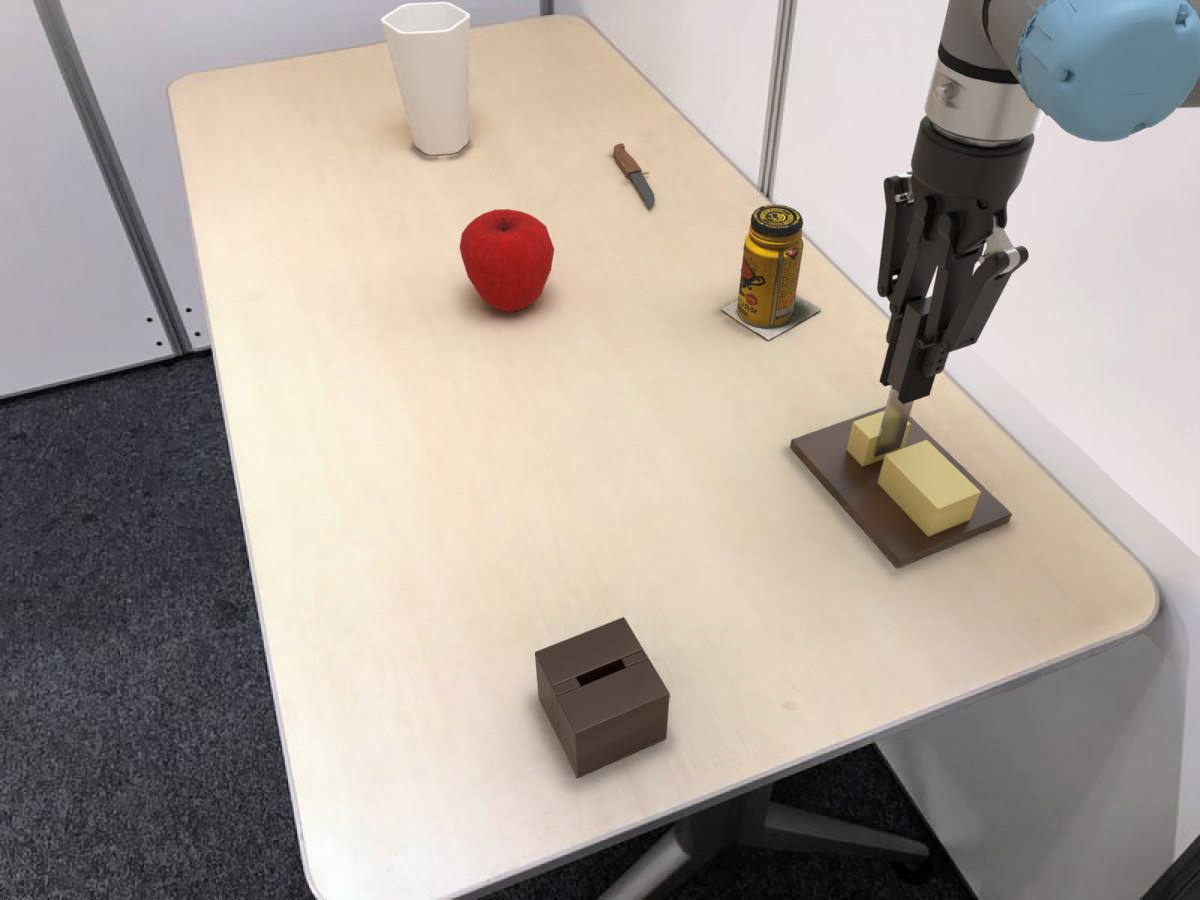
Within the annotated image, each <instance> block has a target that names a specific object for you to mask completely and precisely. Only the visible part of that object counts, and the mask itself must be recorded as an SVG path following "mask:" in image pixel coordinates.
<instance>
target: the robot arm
mask: <svg viewBox="0 0 1200 900" xmlns="http://www.w3.org/2000/svg"><path fill="white" fill-rule="evenodd" d="M936 52H937V53H936V57H935V61H934V64H933V69H932V74H931V78H930V82H929V85H928V90H927V95H926V99H925V103H924V113H925V115H924V116H923V118H921V120H920V122H919V126H918V132H917V135H916V138H915V143H914V148H913V152H912V155H911V159H910V167H911V171H907V172H903V173H899V174H896V175H891V176H888V177H886V178H884V180H883V193H884V201H885V214H884V224H883V231H882V242H881V250H880V257H879V258H880V259H879V267H878V277H877V286H876V290H877V291H876V292H877V294H878V296H879V297H880V298H886V299H887V300H888V302H889V304H888V305H889V306H888V307H889V308H888V309H889V312H890V313H891V314H890V320H889V323H888V327H887V331H886V333H885V334H886V335H885V340H886V343H887V344H888V346H887V350H886V353H885V358H884V362H883V366H882V370H881V373H880V377H879V383H880V384H881V385H882V386H883V387H889V386H891V385H890V384H889V383H888V382H887V379H888V375H889V371H890V367H891V363H892V359H893V355H894V352H895V348H896V344H897V340H898V336H899V332H900V329H901V325H902V321H903V317H904V313H905V309H906V305H907V304H908V303H911V302H914V301H917V300H921V299H924V298H927V295H928V292H929V289H930V287H931V284H932V282H933V279H934V276H935V279H934V282H933V283H934V284H933V288H932V294H931V296H932V298H931V303H930V308H929V313H928V318H927V323H926V328H925V333H924V334H923V335H920V336H917V337H915V339H914V342H913V346H912V349H911V353H910V357H909V360H908V364H907V368H906V371H905V375H904V378H903V382H902V386H901V389H900V393H899V396H898V400H899V401H900V402H901V403H902V404H906V403H909V402H912V401H914V402H915V401H917V400H920V399H923V398H926V397H928V396H930V395H931V392H932V389H933V385H934V383H935V378H936V375H938V374H941V373H942V372H943V371H944V370H945V367H946V364H947V360H948V357H949V354H950V353H952V352H955V351H957V350H961V349H964V348H967V347H970V346H973V345H975V344H976V343H977V342H978V340H979V338H980V336H981V334H982V333H983V330H984V329H985V327H986V325H987V323H988V321H989V319H990V317H991V315H992V313H993V311H994V309H995V307H996V305H997V303H998V302H999V300H1000V297H1001V296H1002V294H1003V292H1004V290H1005V288H1006V286H1007V285H1008V283H1009V280H1010V278H1011V276H1012V275H1013V274H1014V273H1015V272H1016V271H1017V270H1018V269H1019V268H1021V266H1023V265H1024V264H1026V263H1027V261H1028V260H1029V251H1028V249H1027V248H1026V247H1025V246H1024V245H1019V246H1018V245H1017V246H1014V245H1013V243H1012V241H1011V239H1010V238H1009V236H1008V234H1007V232H1006V230H1005V228H1006V227H1007V225H1008V204H1009V203H1008V202H1009V200H1010V198H1011V197H1012V195H1013V194H1014V193H1015V191H1016V190H1017V188H1019V186H1020V184H1021V182H1022V180H1023V177H1024V174H1025V171H1026V168H1027V165H1028V162H1029V160H1030V156H1031V153H1032V150H1033V147H1034V145H1035V140H1036V139H1035V138H1036V137H1035V134H1034V133H1035V132H1036V131H1038V129H1039V128H1040V127H1041V124H1042V122H1043V117H1044V115H1045V116H1048V117H1050V118H1051V119H1052V120H1053V121H1054V122H1055V123H1056V124H1057V126H1059V127H1060V128H1061V129H1062V130H1063V131H1064V132H1065V133H1067V134H1069V135H1071V136H1073V137H1075V138H1078V139H1081V140H1084V141H1090V142H1099V143H1109V142H1116V141H1122V140H1124V139H1127V138H1129V137H1130V136H1132V135H1134V134H1136V133H1138V132H1141V131H1143V130H1145V129H1149V128H1153V127H1154V126H1157V125H1158V124H1160V123H1161V122H1163V121H1164V120H1166V119H1167V118H1168V117H1170V116H1171V115H1173V113H1174V112H1175V111H1176V110H1177V109H1187V108H1188V109H1190V108H1192V109H1193V108H1200V0H948V5H947V8H946V14H945V18H944V21H943V26H942V30H941V35H940V39H939V44H938V48H937V51H936ZM985 244H986V247H985ZM984 249H985V250H984ZM977 263H979V264H980V265H979V266H978V267H976V269H975V266H976V264H977ZM935 273H936V274H935ZM895 276H896V277H895ZM894 277H895V278H894Z"/></svg>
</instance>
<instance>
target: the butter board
mask: <svg viewBox="0 0 1200 900" xmlns="http://www.w3.org/2000/svg"><path fill="white" fill-rule="evenodd" d="M885 408H886V406H883V407H880V408H877V409H874V410H872V411H869V412H866V413H863V414H860V415H857V416H854V417H852V418H849V419H846V420H843V421H840V422H838V423H835V424H832V425H829V426H827V427H826V426H825V427H823V428H821V429H818V430H815V431H812V432H809V433H805V434H804V435H801V436H799V437H798V436H797V437H795V438H793V439H792V438H791V440H790V446H789V447H790V449H791V450H792V451H793V452H794V453H795V454H796V456H797V457H798V458H799V459H800V460H801V461H802V462H803V463H804V465H805V466H806V467H807V468H808V469H809V470H810V471H811V473H813V475H814V476H815V477H816V478H817V479H818V481H820V483H821V484H822V485H823V486H824V487H825V489H826V490H828V492H829V493H830V494H831V495H832V496H833V497H834V499H835V500H836V501H837V502H838V503H839V504H840V505H841V506H842V508H843V509H844V511H846V512H847V513H848V514H849V516H850V517H851V518H852V519H853V520H854V521H855V523H856V524H858V526H859V527H860V528H861V529H862V530H863V531H864V532H865V534H866V535H867V536H868V537H869V538H870V539H871V540H872V541H873V543H874V544H875V545H876V546H877V548H879V549H880V550H881V552H882V553H883V554H884V555H885V556H886V557H887V558H888V560H889V561H890V562H891V563H892V564H893V565H894V567H895V568H900V567H902V566H905V565H907V564H910V563H913V562H915V561H917V560H919V559H922V558H924V557H927V556H929V555H931V554H933V553H936V552H938V551H941V550H943V549H945V548H948V547H951V546H952V545H955V544H957V543H960V542H963V541H965V540H967V539H970V538H973V537H975V536H977V535H979V534H981V533H985V532H987V531H989V530H991V529H994V528H996V527H998V526H1001V525H1004V524H1006V523H1008V522H1010V520H1011V517H1012V516H1013V513H1012V511H1010V510H1009V509H1008V508H1007V507H1006V506H1005V505H1004V504H1003V503H1002V502H1001V501H999V500H998V498H997V497H995V496H994V495H993V494H992V493H991V492H990V491H989V490H988V489H987V488H986V487H985V486H984V485H983V484H982V483H981V482H980V481H978V479H976V478H975V477H974V476H973V475H972V474H971V472H969V471H968V470H967V469H966V468H965V467H964V466H963V465H962V464H961V463H960V462H959V461H958V460H956V459H955V457H953V456H952V455H951V453H949V452H948V450H946V449H945V448H944V447H943V446H942V445H941V444H940V443H938V441H936V440H935V439H934V437H932V436H931V435H930V433H928V432H927V430H925V429H924V427H922V426H921V425H920V424H919V423H918V422H917V421H916V420H915V419H914V418H913V417H912V416H911V415H910V416H909V419H908V422H909V423H910V424H911V426H910V429H909V432H908V436H907V439H906V443H905V446H904V448H906V447H908V446H911V445H914V444H916V443H919V442H922V441H924V440H928V441H929V442H930V443H931V444H932V445H933V446H934V447H935V448H936V449H937V450H938V451H939V452H940V453H941V454H942V455H943V456H944V457H945V458H946V459H947V460H948V461H949V462H950V463H951V464H952V465H954V466H955V467H956V468H957V469H958V470H959V471H960V472H961V473H962V474H963V475H964V476H965V477H966V478H967V479H968V480H969V481H970V482H971V483H972V484H973V485H974V486H975V487H976V488H977V489H978V490H979V491H981V493H980V496H979V498H978V501H977V503H976V506H975V508H974V511H973V514H972V516H971V519H970V520H968V521H966V522H963V523H961V524H958V525H956V526H954V527H951V528H949V529H946V530H944V531H941V532H939V533H936V534H934V535H932V536H929V537H928V536H927V535H926V534H925V533H924V532H923V531H922V530H921V529H920V528H919V527H918V526H917V524H916V523H915V522H914V521H913V520H912V519H911V518H910V517H909V516H908V515H907V514H906V513H905V512H904V511H903V510H902V509H901V507H900V506H899V505H898V504H897V503H896V502H895V501H894V500H893V499H892V498H891V497H890V496H889V495H888V494H887V493H886V492H885V490H884V489H883V488H882V487H881V486H880V485H879V484H878V483H877V482H878V479H879V475H880V472H881V468H882V465H883V461H884V459H882V460H880V461H877V462H874V463H871V464H869V465H866V466H863V467H862V466H861V465H860V464H859V463H858V461H857V460H856V459H855V458H854V457H853V456H852V455H851V454H850V453H849V452H848V451H847V450H846V449H847V445H848V441H849V436H850V432H851V428H852V424H853V422H854V421H857V420H859V419H862V418H865V417H868V416H871V415H874V414H876V413H879V412H882V411H885Z"/></svg>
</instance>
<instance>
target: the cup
mask: <svg viewBox="0 0 1200 900" xmlns="http://www.w3.org/2000/svg"><path fill="white" fill-rule="evenodd" d="M380 24H381V27H382V31H383V35H384V38H385V42H386V45H387V49H388V52H389V56H390V60H391V63H392V68H393V71H394V74H395V79H396V82H397V85H398V89H399V93H400V96H401V99H402V102H403V107H404V111H405V115H406V117H407V122H408V124H409V129H410V133H411V136H412V140H413V143H414V146H415V148H418V149H419V150H420V151H421V152H422V153H424V154H425V155H428V156H429V155H430V156H436V155H437V156H438V155H451V154H455V153H456V154H457V153H458V152H460V151H461V150H462V149H463V148H464V147H465V146H466V145H467V144H469V114H470V111H469V110H470V109H469V108H470V107H469V106H470V47H471V46H470V41H471V32H470V31H471V29H470V28H471V14H470V12H467V11H466V10H464V9H462V8H460V7H458V6H456V5H455V4H453V3H451V2H448V1H433V2H411V3H410V2H409V3H405V4H401V5H399V6H397V7H396V8H395V9H393V10H392V11H390V12H388V13H387V14H385V15H383V16H382V17H381V18H380Z"/></svg>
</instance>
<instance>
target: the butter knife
mask: <svg viewBox="0 0 1200 900" xmlns="http://www.w3.org/2000/svg"><path fill="white" fill-rule="evenodd" d="M931 298H932V295H930V296H926V298H924V299H921V300H917V301H914V302H911V303H908V304H907V305H906V309H905V313H904V317H903V321H902V325H901V329H900V332H899V336H898V340H897V344H896V348H895V352H894V355H893V359H892V363H891V367H890V371H889V375H888V379H887V382H888V383H889V384H890V385H889V386H891V387H890V390H889V393H888V397H887V401H886V405H885V407H886V408H885V412H884V416H883V420H882V423H881V427H880V431H879V435H878V439H877V442H876V446H875V450H874V454H873V456H874V457H877V456H880V455H882V454H885V453H888V452H891V451H893V450H896V449H899V448H900V447H901V443H902V440H903V437H904V433H905V430H906V426H907V423H908V419H909V416H910V417H911V412H912V408H913V405H914V402H915V401H912V402H909V403H906V404H902V403H901V402H900V401H899V400H898V396H899V393H900V389H901V386H902V382H903V378H904V375H905V371H906V368H907V364H908V360H909V357H910V353H911V349H912V346H913V342H914V339H915V337H917V336H920V335H923V334H924V333H925V328H926V323H927V318H928V313H929V308H930V303H931Z"/></svg>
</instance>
